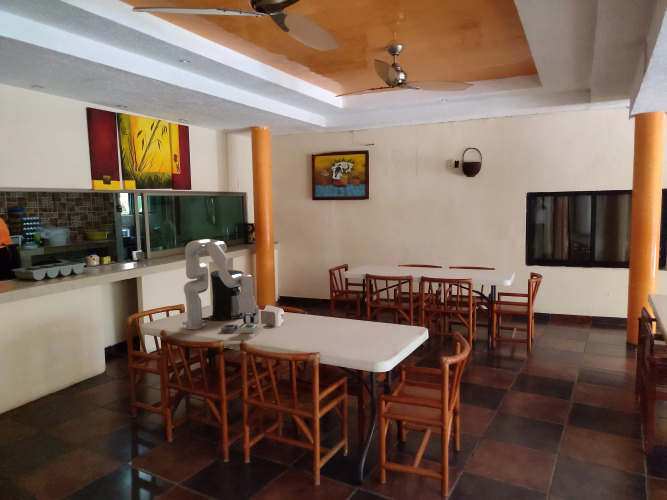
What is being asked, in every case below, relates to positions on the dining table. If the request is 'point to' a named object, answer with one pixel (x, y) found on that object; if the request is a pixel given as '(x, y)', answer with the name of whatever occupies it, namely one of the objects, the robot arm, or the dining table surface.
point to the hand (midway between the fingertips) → (248, 322)
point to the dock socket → (249, 329)
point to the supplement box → (256, 316)
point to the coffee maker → (224, 298)
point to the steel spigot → (248, 319)
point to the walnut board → (233, 329)
